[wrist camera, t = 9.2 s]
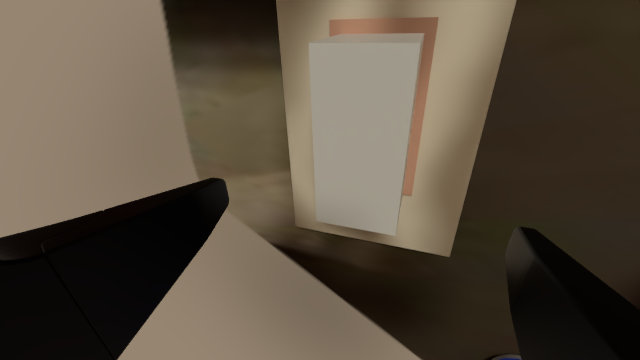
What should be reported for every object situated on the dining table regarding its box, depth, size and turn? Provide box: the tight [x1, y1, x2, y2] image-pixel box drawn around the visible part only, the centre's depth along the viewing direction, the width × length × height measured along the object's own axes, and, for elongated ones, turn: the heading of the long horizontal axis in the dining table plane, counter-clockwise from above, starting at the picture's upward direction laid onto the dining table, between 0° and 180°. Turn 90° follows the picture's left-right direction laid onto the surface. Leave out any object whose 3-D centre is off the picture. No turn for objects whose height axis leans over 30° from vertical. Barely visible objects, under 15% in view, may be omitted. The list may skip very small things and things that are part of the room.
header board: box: [276, 0, 516, 257], centre depth 18 cm, size 12×18×5 cm, turn 2°
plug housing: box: [309, 33, 425, 236], centre depth 16 cm, size 4×9×5 cm, turn 2°
